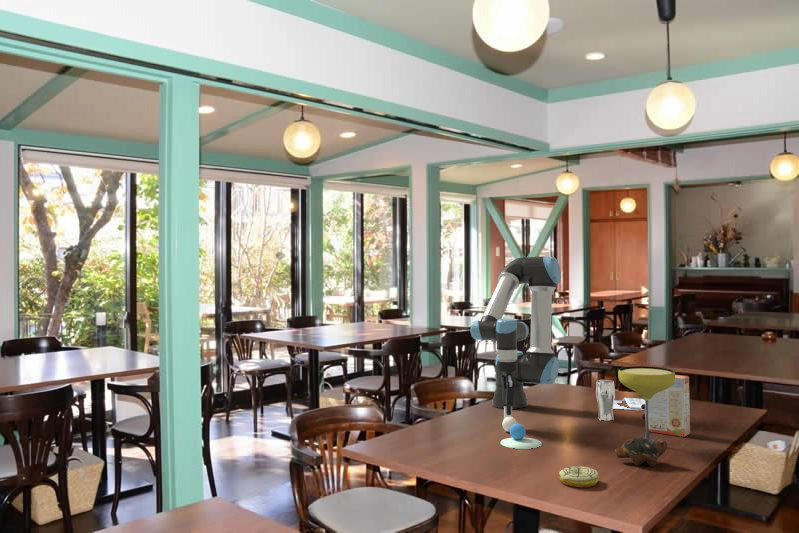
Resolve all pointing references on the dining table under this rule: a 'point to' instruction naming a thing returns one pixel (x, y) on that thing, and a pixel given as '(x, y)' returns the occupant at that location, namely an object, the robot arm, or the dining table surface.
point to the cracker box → (670, 409)
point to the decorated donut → (579, 476)
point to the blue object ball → (517, 431)
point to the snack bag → (630, 404)
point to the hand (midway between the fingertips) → (508, 422)
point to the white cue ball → (508, 423)
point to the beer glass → (605, 399)
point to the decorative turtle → (642, 450)
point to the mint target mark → (521, 443)
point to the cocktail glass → (646, 382)
